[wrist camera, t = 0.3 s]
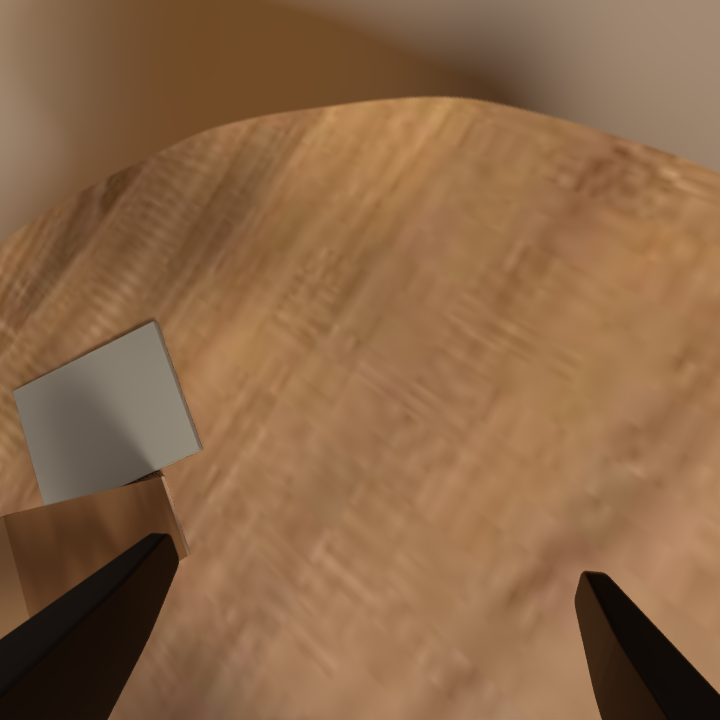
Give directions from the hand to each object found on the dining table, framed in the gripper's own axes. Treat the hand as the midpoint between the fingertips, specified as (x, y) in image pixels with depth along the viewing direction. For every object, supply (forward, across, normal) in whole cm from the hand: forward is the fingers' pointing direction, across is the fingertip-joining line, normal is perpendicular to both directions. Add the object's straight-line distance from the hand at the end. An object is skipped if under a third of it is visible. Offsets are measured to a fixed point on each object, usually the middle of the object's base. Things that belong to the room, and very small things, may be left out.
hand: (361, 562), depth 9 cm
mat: (+13, +19, +6) cm, 24 cm away
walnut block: (+10, +16, +12) cm, 22 cm away
